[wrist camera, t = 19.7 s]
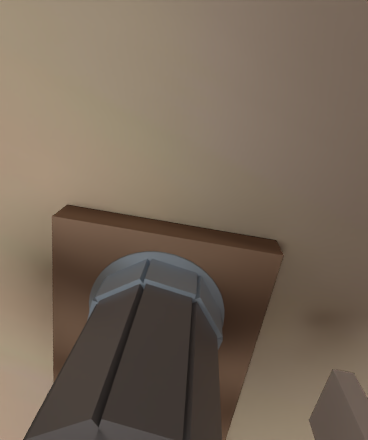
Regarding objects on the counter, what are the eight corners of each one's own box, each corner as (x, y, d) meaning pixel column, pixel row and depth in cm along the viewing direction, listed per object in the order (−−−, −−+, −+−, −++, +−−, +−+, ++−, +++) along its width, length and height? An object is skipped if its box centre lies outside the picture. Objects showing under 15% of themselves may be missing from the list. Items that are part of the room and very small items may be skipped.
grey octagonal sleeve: (182, 243, 13) (158, 389, 6) (236, 338, 14) (260, 533, 8) (75, 289, 14) (-37, 452, 8) (135, 373, 16) (86, 565, 9)
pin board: (67, 204, 14) (-43, 286, 8) (275, 240, 14) (331, 351, 8) (64, 447, 21) (3, 596, 15) (206, 472, 21) (206, 632, 15)
